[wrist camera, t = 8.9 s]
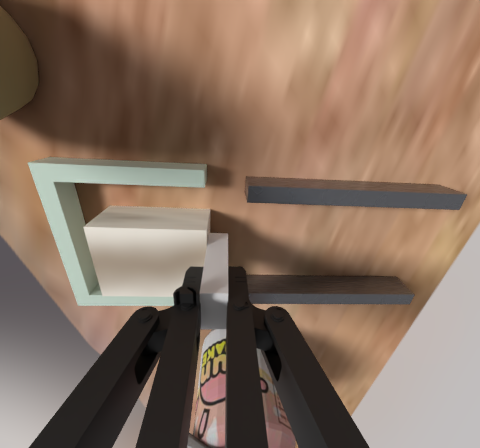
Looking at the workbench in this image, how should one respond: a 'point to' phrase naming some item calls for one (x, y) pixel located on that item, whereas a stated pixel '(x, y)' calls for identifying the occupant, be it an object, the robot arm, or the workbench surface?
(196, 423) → the beverage can
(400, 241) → the workbench surface
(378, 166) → the workbench surface
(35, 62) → the squeeze bottle
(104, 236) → the block
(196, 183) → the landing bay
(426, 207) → the chute
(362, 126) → the workbench surface
